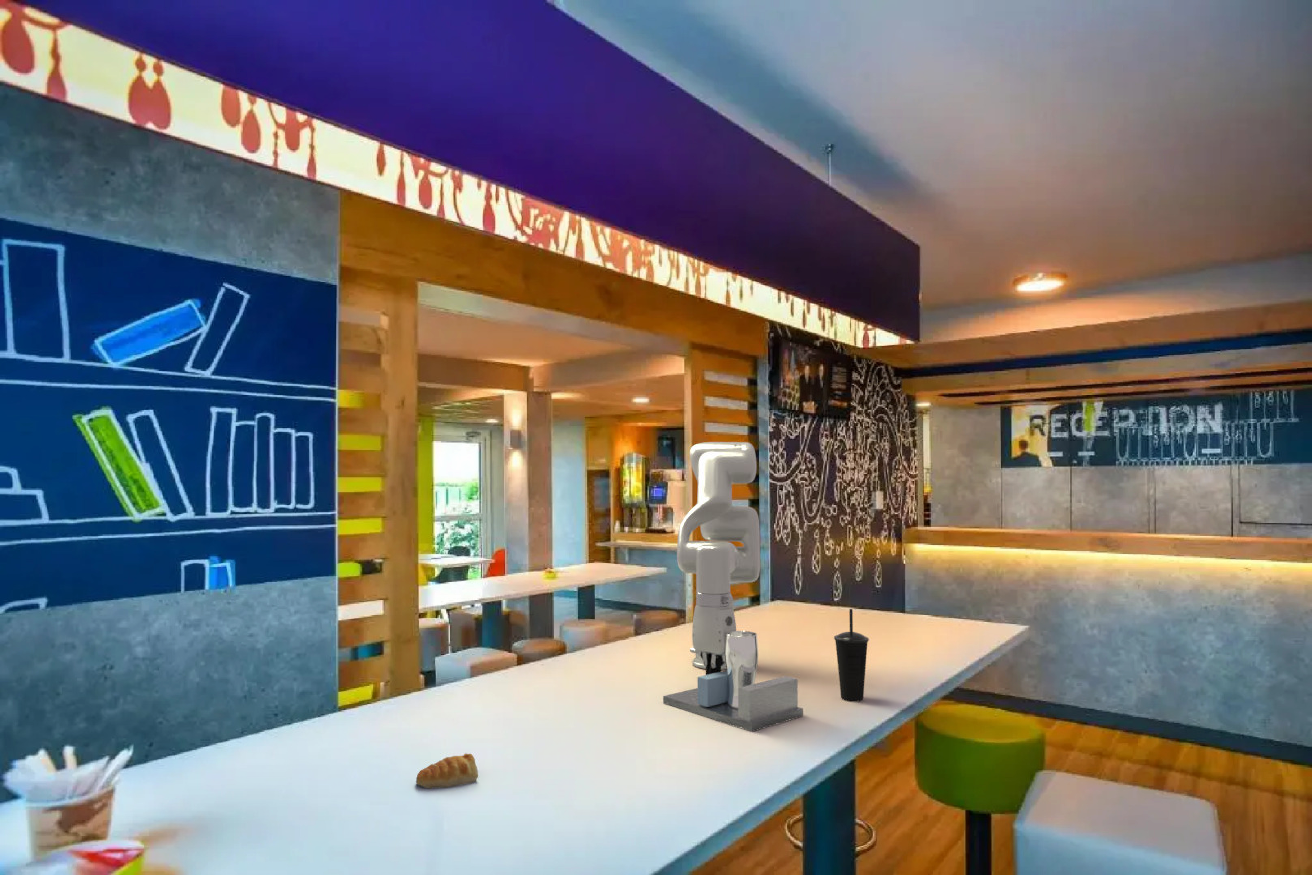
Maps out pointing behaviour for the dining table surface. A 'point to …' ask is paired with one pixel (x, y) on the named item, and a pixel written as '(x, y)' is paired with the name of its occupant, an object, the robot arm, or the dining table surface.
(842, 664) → the drinking cup
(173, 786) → the dining table surface
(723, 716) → the vise base
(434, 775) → the pastry
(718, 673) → the bar
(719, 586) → the robot arm
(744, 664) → the beer glass
